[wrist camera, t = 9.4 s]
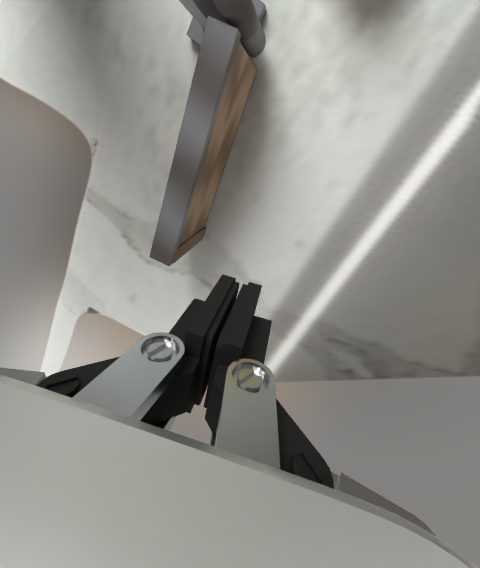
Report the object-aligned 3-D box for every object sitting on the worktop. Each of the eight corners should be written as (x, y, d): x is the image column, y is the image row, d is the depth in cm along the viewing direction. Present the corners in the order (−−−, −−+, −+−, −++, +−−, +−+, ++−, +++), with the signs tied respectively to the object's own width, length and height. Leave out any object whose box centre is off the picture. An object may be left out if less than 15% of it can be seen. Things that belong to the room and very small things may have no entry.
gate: (249, 27, 23) (218, -40, 15) (270, 36, 23) (251, -26, 15) (187, 232, 33) (147, 259, 25) (202, 239, 33) (167, 268, 25)
